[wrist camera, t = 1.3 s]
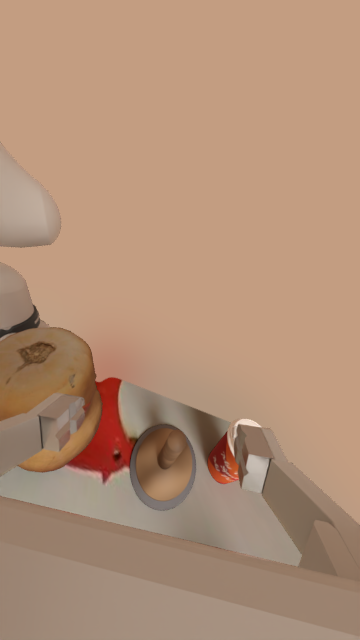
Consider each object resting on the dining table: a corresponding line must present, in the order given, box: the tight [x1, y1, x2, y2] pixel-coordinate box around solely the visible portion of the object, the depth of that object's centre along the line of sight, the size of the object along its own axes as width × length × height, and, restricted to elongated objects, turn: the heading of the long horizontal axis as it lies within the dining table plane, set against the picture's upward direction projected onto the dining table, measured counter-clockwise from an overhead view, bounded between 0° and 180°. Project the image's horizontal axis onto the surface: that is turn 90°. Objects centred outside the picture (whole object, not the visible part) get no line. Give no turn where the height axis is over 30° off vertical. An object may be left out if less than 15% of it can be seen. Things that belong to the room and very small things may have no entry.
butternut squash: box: [0, 327, 102, 472], centre depth 26 cm, size 14×13×25 cm
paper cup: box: [208, 419, 261, 484], centre depth 31 cm, size 8×8×14 cm
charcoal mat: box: [130, 425, 196, 510], centre depth 33 cm, size 13×13×1 cm
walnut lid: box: [136, 428, 192, 501], centre depth 30 cm, size 11×11×11 cm
